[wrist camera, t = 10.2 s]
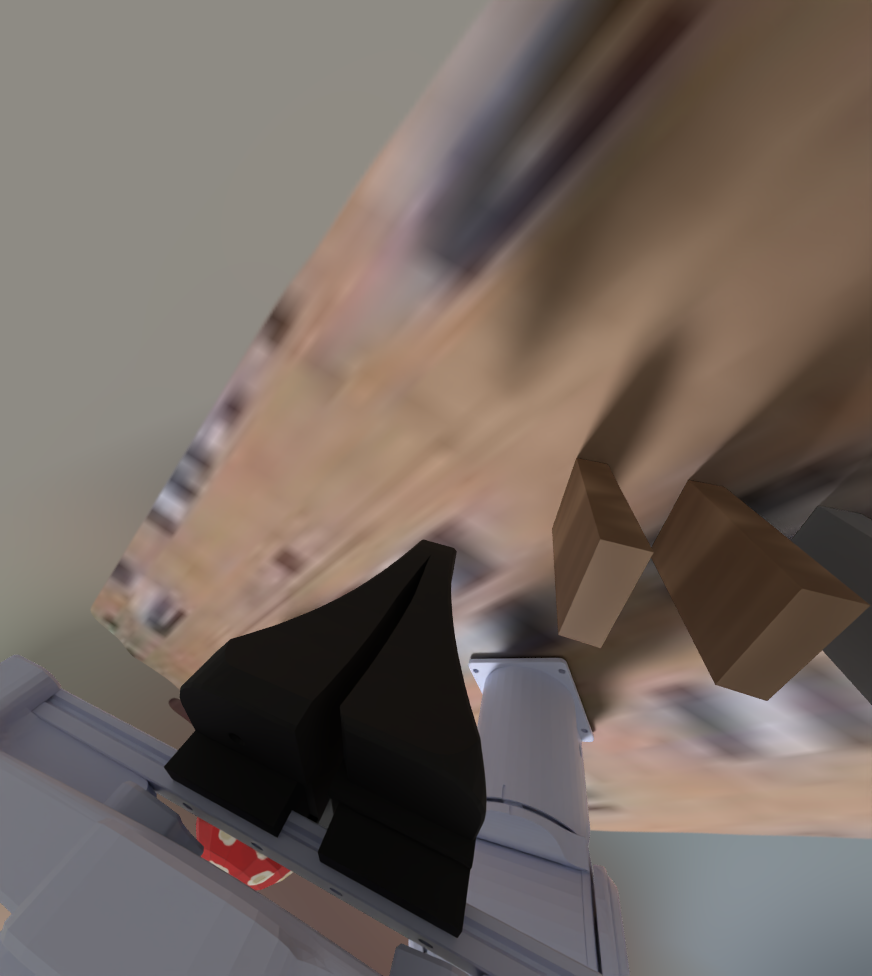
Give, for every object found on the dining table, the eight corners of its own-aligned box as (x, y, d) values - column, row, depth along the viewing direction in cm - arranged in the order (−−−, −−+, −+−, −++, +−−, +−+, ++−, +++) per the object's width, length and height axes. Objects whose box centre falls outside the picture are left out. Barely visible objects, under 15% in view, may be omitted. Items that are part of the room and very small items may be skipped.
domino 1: (607, 464, 17) (653, 552, 10) (578, 535, 19) (600, 648, 12) (576, 458, 17) (599, 539, 10) (552, 528, 19) (558, 634, 12)
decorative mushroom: (412, 717, 34) (333, 954, 21) (343, 734, 40) (251, 920, 28) (322, 631, 32) (172, 832, 19) (265, 664, 39) (127, 828, 26)
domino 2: (724, 486, 15) (871, 605, 9) (679, 560, 18) (767, 700, 11) (688, 479, 16) (801, 588, 9) (648, 552, 18) (715, 684, 11)
